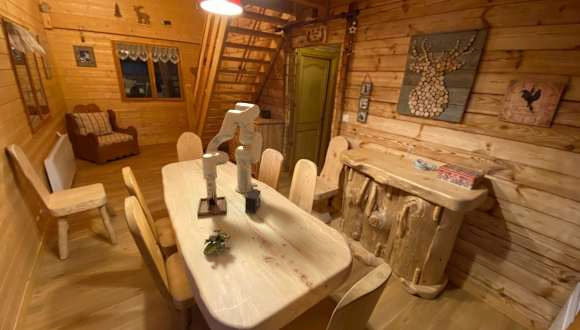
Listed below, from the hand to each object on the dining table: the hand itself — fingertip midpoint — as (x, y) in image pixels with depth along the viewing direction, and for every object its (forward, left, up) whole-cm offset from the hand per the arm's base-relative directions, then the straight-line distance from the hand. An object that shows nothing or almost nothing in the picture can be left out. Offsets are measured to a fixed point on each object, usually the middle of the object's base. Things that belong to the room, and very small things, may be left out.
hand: (212, 202), depth 143 cm
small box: (-24, +6, -4) cm, 25 cm away
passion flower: (-4, +39, -4) cm, 39 cm away
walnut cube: (0, 0, -1) cm, 1 cm away
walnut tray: (0, 0, -4) cm, 4 cm away
